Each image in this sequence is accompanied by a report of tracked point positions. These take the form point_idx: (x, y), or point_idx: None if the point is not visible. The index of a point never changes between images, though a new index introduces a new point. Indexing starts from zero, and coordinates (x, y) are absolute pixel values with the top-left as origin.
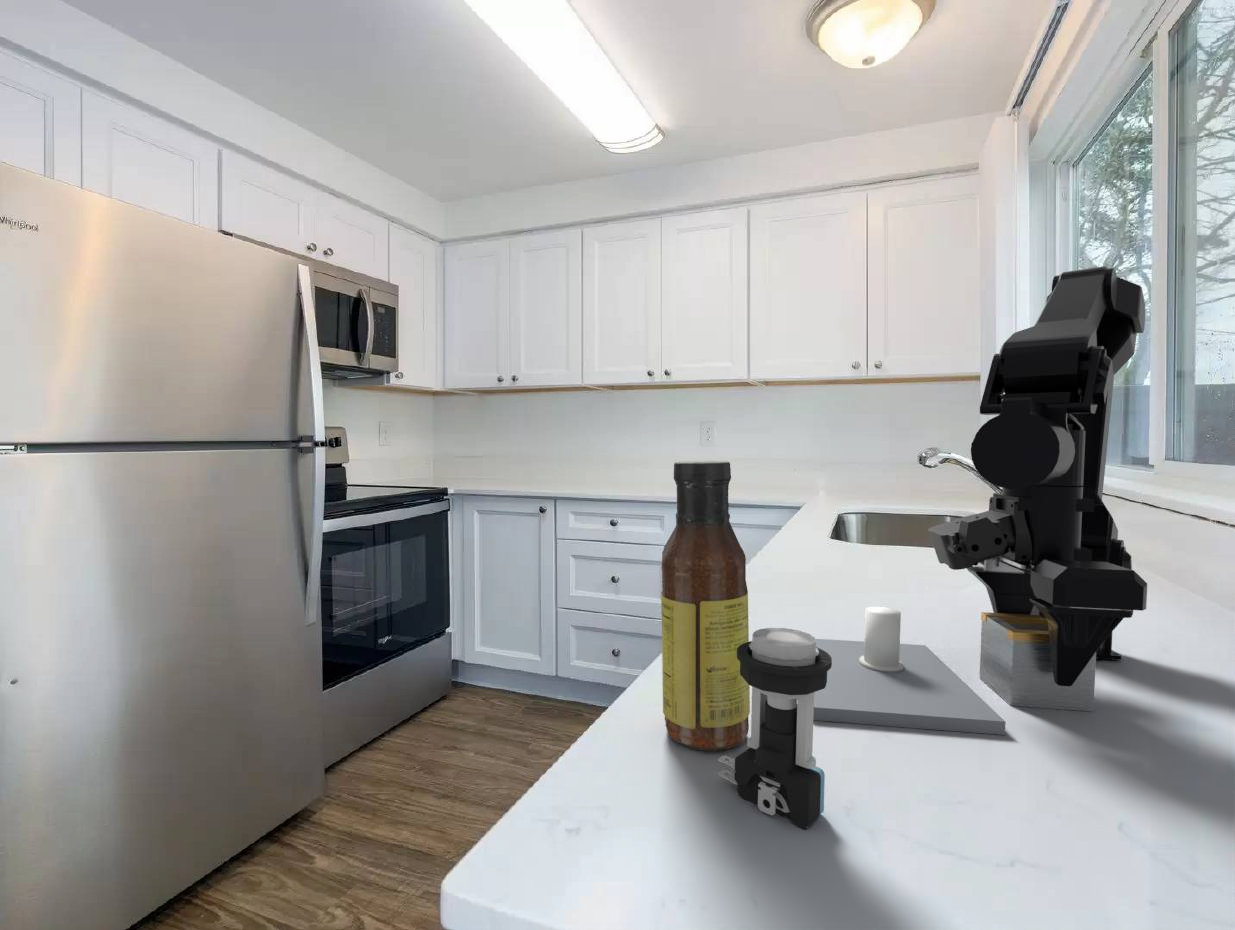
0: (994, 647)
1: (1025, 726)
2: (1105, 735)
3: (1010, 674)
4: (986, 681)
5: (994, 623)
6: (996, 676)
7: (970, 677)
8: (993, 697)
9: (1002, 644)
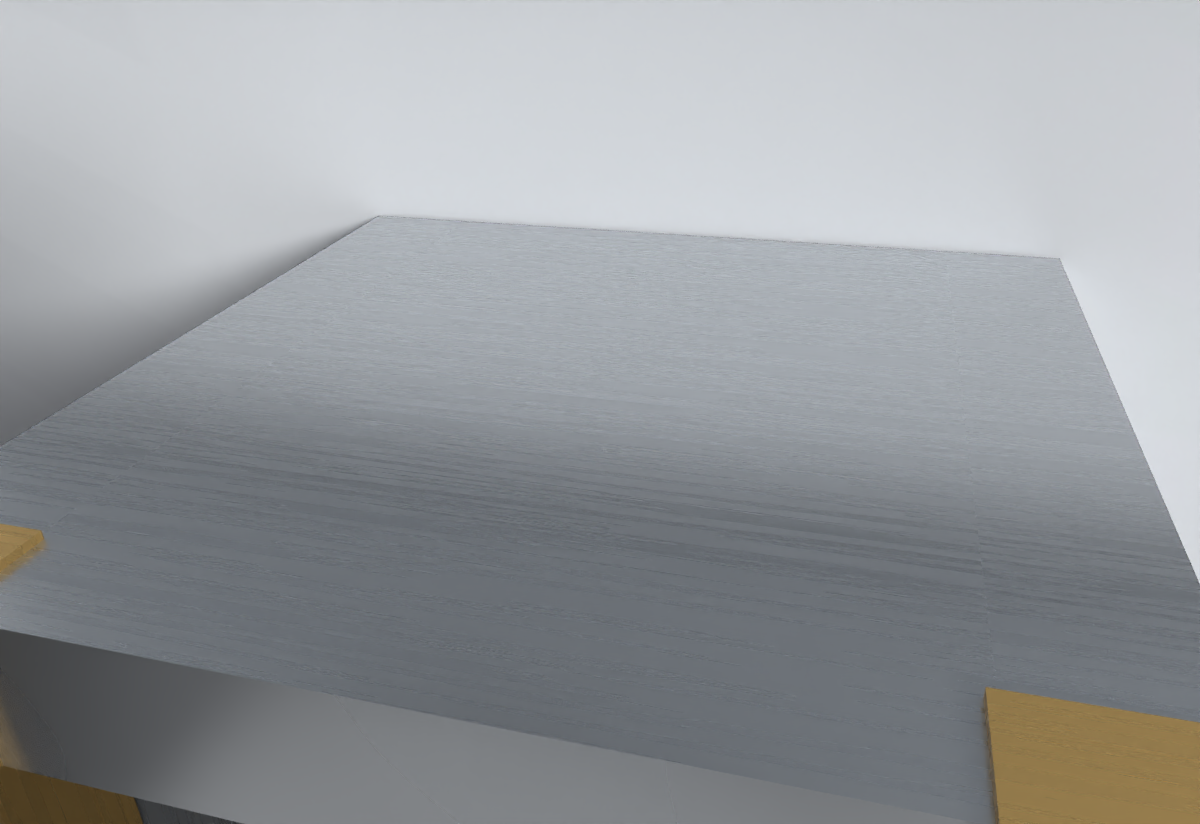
0: (614, 434)
1: (35, 135)
2: None
3: (248, 308)
4: (879, 258)
5: (522, 692)
6: (616, 286)
7: (1098, 171)
8: (539, 157)
9: (314, 467)
